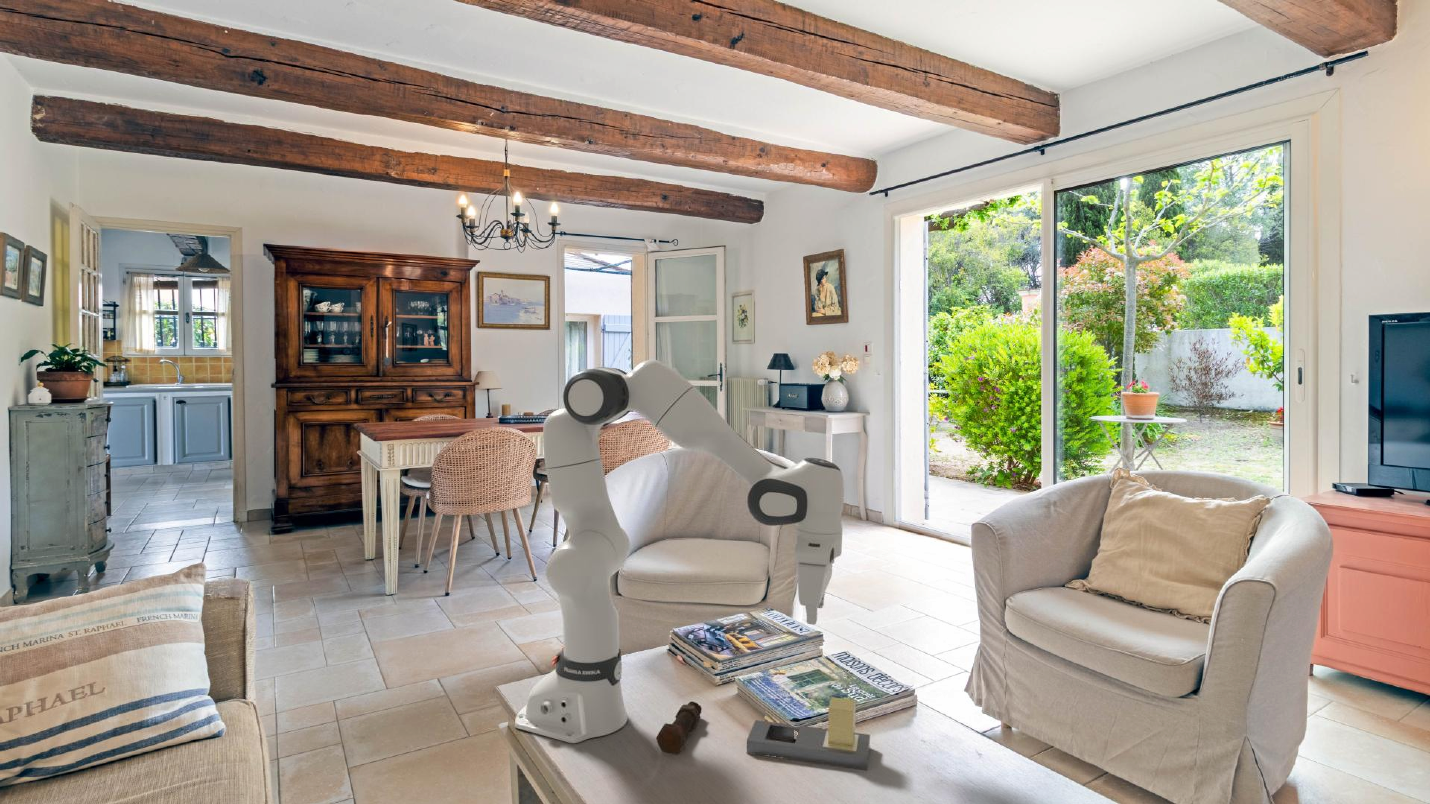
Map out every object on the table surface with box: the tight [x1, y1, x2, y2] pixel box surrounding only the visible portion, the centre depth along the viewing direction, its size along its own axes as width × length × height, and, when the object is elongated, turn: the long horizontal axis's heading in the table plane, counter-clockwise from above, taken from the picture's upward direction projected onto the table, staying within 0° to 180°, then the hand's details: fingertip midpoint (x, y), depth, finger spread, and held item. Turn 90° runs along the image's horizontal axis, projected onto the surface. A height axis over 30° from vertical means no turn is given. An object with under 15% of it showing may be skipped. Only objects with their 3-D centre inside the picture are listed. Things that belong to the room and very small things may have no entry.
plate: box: [746, 719, 871, 771], centre depth 139 cm, size 22×8×3 cm, turn 75°
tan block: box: [827, 696, 857, 749], centre depth 137 cm, size 4×4×7 cm
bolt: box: [655, 701, 702, 755], centre depth 145 cm, size 6×5×15 cm
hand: (815, 614), depth 142 cm, fingers open, 8 cm apart
